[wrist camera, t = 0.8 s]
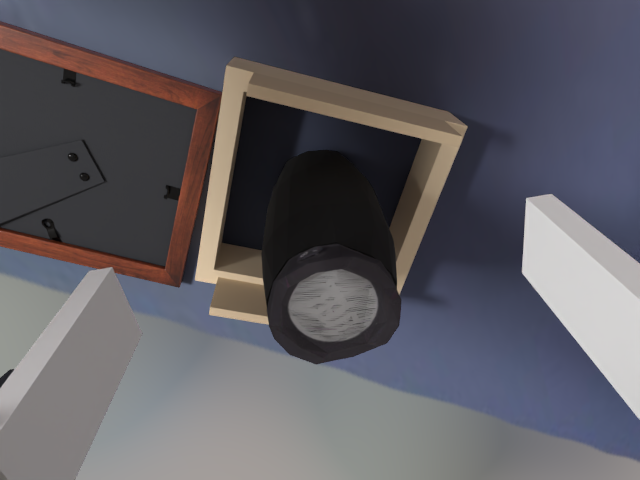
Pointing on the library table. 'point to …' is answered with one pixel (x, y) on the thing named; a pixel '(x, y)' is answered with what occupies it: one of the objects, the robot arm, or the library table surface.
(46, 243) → the picture frame
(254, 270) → the carton
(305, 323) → the portable speaker
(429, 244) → the library table surface
